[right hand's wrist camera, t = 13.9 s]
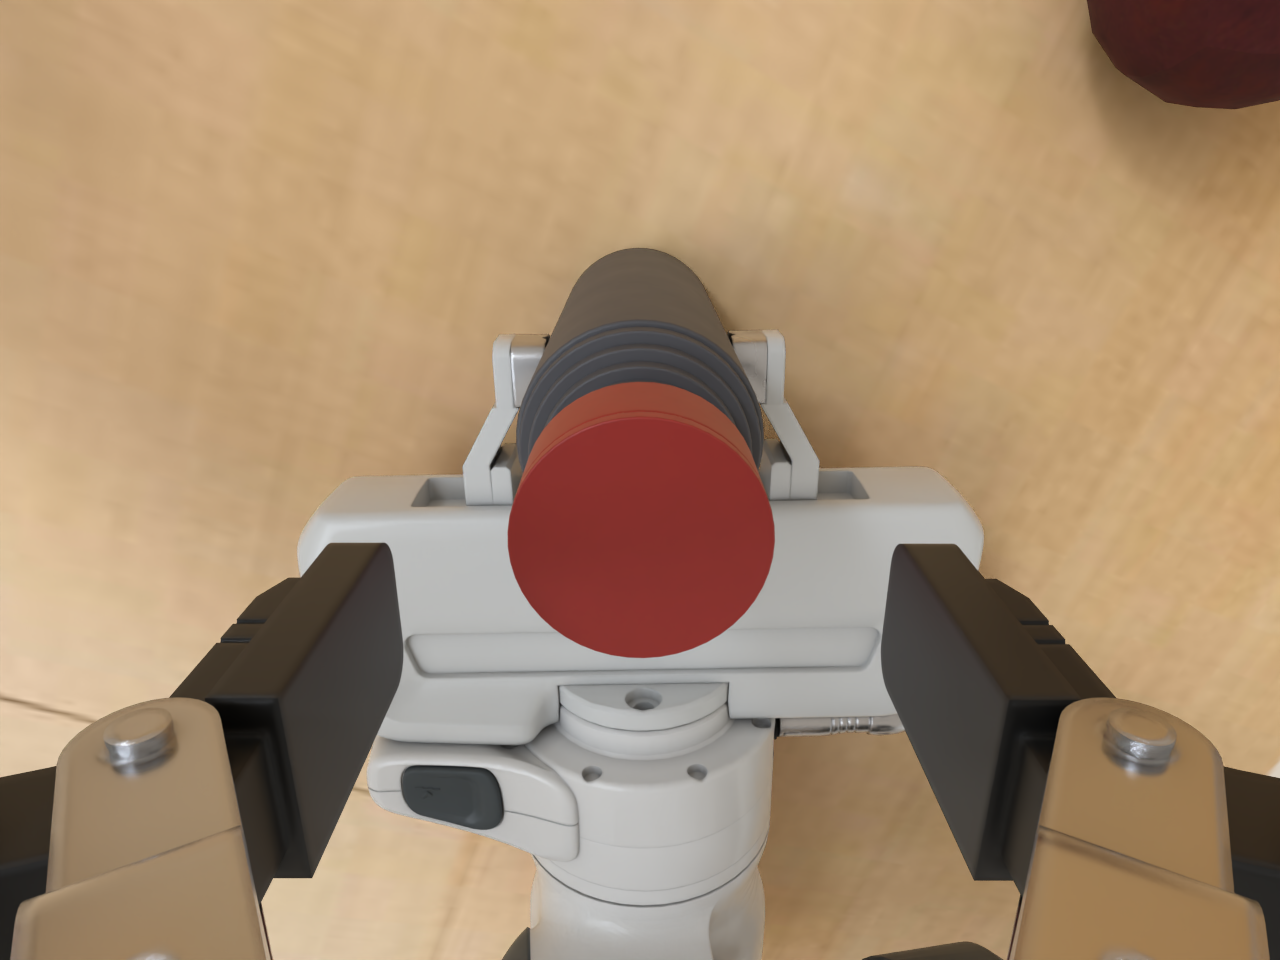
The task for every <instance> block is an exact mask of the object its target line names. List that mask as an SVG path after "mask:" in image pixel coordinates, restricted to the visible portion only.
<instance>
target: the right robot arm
mask: <svg viewBox="0 0 1280 960" xmlns="http://www.w3.org/2000/svg"><path fill="white" fill-rule="evenodd" d="M881 667H882V674H883V679H884V683H885V687H886V689H887V692H888V694H889V696H890V698H891V701H892V703H893V705H894V707H895V709H896V712H897V714H898V716H899V718H900V720H901V722H902V725H903V727H904V729H905V731H906V733H907V735H908V738H909V740H910V742H911V744H912V746H913V749H914V751H915V753H916V755H917V757H918V759H919V762H920V764H921V766H922V768H923V770H924V772H925V775H926V777H927V779H928V781H929V783H930V785H931V788H932V790H933V792H934V794H935V796H936V799H937V801H938V803H939V805H940V807H941V809H942V812H943V814H944V816H945V818H946V820H947V822H948V825H949V827H950V829H951V831H952V833H953V835H954V838H955V840H956V842H957V844H958V846H959V849H960V851H961V853H962V855H963V857H964V859H965V862H966V864H967V866H968V868H969V870H970V872H971V875H972V877H973V879H974V880H1014V882H1015V884H1016V886H1017V888H1018V890H1019V892H1020V894H1021V895H1020V899H1019V904H1018V908H1017V913H1016V917H1015V922H1014V927H1013V932H1012V937H1011V941H1010V946H1009V951H1008V956H1007V960H1280V778H1276V777H1271V776H1266V775H1261V774H1256V773H1251V772H1246V771H1241V770H1237V769H1232V768H1228V767H1224V766H1223V762H1222V758H1221V756H1220V754H1219V753H1218V751H1217V749H1216V748H1215V747H1214V745H1213V744H1212V743H1211V742H1210V741H1209V740H1208V739H1207V738H1206V737H1205V736H1204V735H1203V734H1202V733H1200V732H1199V731H1198V730H1196V729H1195V728H1194V727H1192V726H1191V725H1189V724H1187V723H1186V722H1184V721H1182V720H1181V719H1179V718H1177V717H1175V716H1173V715H1171V714H1169V713H1167V712H1164V711H1162V710H1159V709H1157V708H1154V707H1151V706H1148V705H1145V704H1142V703H1138V702H1133V701H1129V700H1124V699H1117V698H1116V697H1115V696H1114V695H1113V694H1112V693H1111V691H1110V690H1109V689H1108V688H1107V687H1106V686H1105V685H1104V683H1103V682H1102V681H1101V680H1100V679H1099V678H1098V677H1097V675H1096V674H1095V673H1094V672H1093V671H1092V670H1091V669H1090V667H1089V666H1088V665H1087V664H1086V663H1085V662H1084V661H1083V659H1082V658H1081V657H1080V656H1079V655H1078V654H1077V653H1076V651H1075V650H1074V649H1073V648H1072V647H1071V646H1070V645H1069V644H1065V639H1064V638H1063V637H1062V635H1061V634H1060V633H1059V632H1058V631H1057V630H1056V629H1055V627H1054V626H1053V625H1049V621H1048V619H1047V618H1046V617H1045V616H1044V615H1043V614H1042V613H1041V611H1040V610H1039V609H1038V608H1037V607H1036V606H1035V605H1034V603H1033V602H1032V601H1031V600H1030V599H1029V598H1028V597H1026V596H1024V595H1023V594H1021V593H1019V592H1018V591H1016V590H1014V589H1013V588H1011V587H1009V586H1008V585H1006V584H1004V583H1003V582H1001V581H999V580H997V579H984V577H983V576H982V575H981V574H980V573H979V571H978V570H977V569H976V568H975V566H974V565H973V564H972V563H971V561H970V560H969V559H968V558H967V557H966V555H965V554H964V553H963V552H962V550H961V549H960V548H959V547H958V546H957V545H956V544H898V545H897V546H896V548H895V549H894V552H893V555H892V560H891V566H890V575H889V583H888V591H887V599H886V607H885V615H884V624H883V632H882V640H881ZM402 668H403V637H402V628H401V620H400V612H399V603H398V595H397V587H396V579H395V570H394V562H393V556H392V552H391V550H390V547H389V546H388V544H386V543H329V544H328V545H327V546H326V547H325V548H324V549H323V550H322V552H321V553H320V554H319V555H318V557H317V558H316V559H315V560H314V562H313V563H312V564H311V565H310V567H309V568H308V569H307V570H306V572H305V573H304V574H303V575H302V577H301V578H287V579H286V580H284V581H282V582H281V583H279V584H277V585H276V586H274V587H272V588H271V589H269V590H267V591H266V592H264V593H262V594H261V595H259V596H257V597H256V598H255V599H254V600H253V601H252V603H251V604H250V605H249V606H248V607H247V608H246V610H245V611H244V612H243V613H242V614H241V615H240V616H239V618H238V619H237V624H233V625H232V626H231V627H230V628H229V629H228V630H227V631H226V633H225V634H224V635H223V636H222V637H221V642H220V643H216V644H215V645H214V646H213V648H212V649H211V650H210V651H209V652H208V653H207V655H206V656H205V657H204V658H203V659H202V660H201V662H200V663H199V664H198V665H197V666H196V667H195V668H194V670H193V671H192V672H191V673H190V674H189V675H188V677H187V678H186V679H185V680H184V681H183V682H182V683H181V685H180V686H179V687H178V688H177V689H176V690H175V692H174V693H173V694H172V695H171V696H170V697H169V698H163V699H156V700H151V701H147V702H142V703H138V704H135V705H132V706H129V707H126V708H123V709H121V710H118V711H116V712H113V713H111V714H109V715H107V716H105V717H103V718H101V719H99V720H98V721H96V722H94V723H93V724H91V725H89V726H88V727H86V728H85V729H84V730H82V731H81V732H80V733H78V734H77V735H76V736H75V737H74V738H73V739H72V740H71V741H70V742H69V743H68V744H67V745H66V747H65V748H64V749H63V751H62V752H61V754H60V756H59V758H58V762H57V766H54V767H50V768H45V769H40V770H35V771H30V772H25V773H20V774H15V775H10V776H6V777H1V778H0V960H273V956H272V951H271V946H270V941H269V937H268V932H267V927H266V922H265V917H264V913H263V908H262V904H261V901H262V899H263V897H264V895H265V893H266V891H267V889H268V887H269V885H270V883H271V881H272V879H273V878H312V877H313V875H314V873H315V870H316V868H317V866H318V864H319V861H320V859H321V857H322V855H323V853H324V850H325V848H326V846H327V844H328V842H329V839H330V837H331V835H332V833H333V831H334V828H335V826H336V824H337V822H338V820H339V817H340V815H341V813H342V811H343V808H344V806H345V804H346V802H347V800H348V797H349V795H350V793H351V791H352V789H353V786H354V784H355V782H356V780H357V778H358V775H359V773H360V771H361V769H362V767H363V764H364V762H365V760H366V758H367V755H368V753H369V751H370V749H371V747H372V744H373V742H374V740H375V738H376V736H377V733H378V731H379V729H380V727H381V725H382V722H383V720H384V718H385V716H386V714H387V711H388V709H389V707H390V705H391V702H392V700H393V698H394V696H395V694H396V691H397V689H398V686H399V683H400V679H401V675H402Z"/></svg>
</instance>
